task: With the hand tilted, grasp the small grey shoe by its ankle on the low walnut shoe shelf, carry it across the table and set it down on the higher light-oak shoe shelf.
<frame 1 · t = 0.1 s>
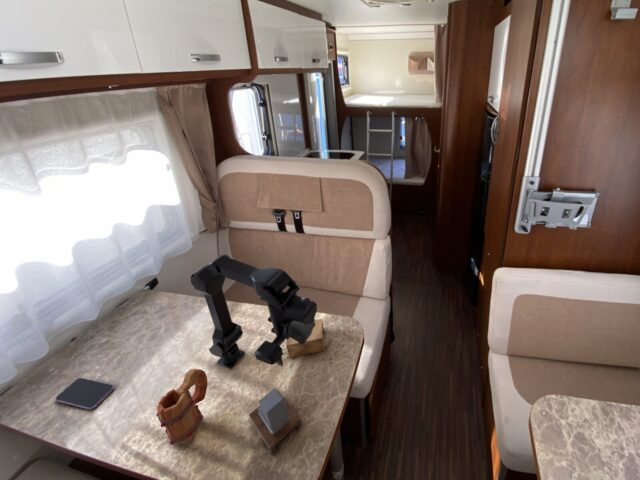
hand: (291, 351, 89), 15 cm above the table, tool pointing down, fingers open, 9 cm apart
low shelf: (276, 423, 85), on the table
mug: (195, 421, 86), on the table
high shelf: (307, 343, 109), on the table
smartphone: (86, 394, 95), on the table
shoe: (277, 421, 82), point 3 cm above the table, touching low shelf
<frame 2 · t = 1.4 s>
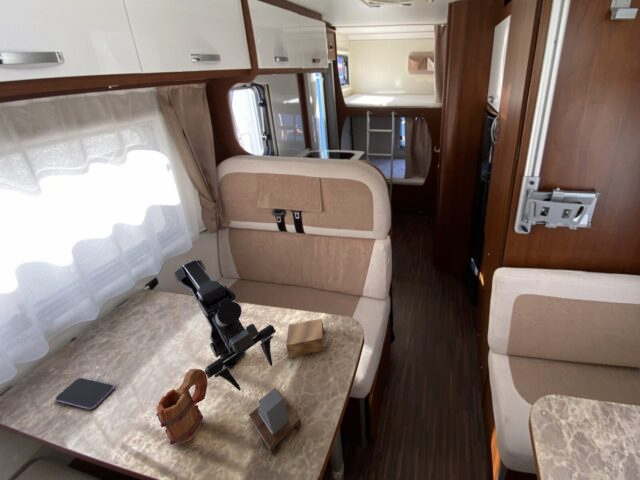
hand: (256, 377, 83), 13 cm above the table, tool tilted 45°, fingers open, 9 cm apart
nothing on the table moved.
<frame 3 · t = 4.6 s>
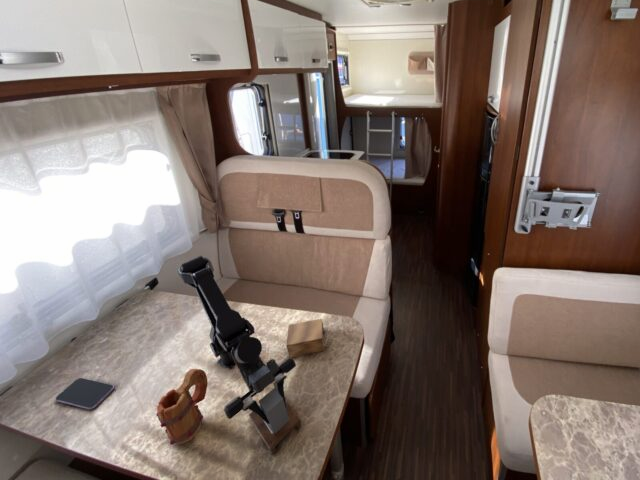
hand: (277, 415, 80), 7 cm above the table, tool tilted 45°, fingers closed on shoe, 4 cm apart
shoe: (277, 421, 82), point 3 cm above the table, touching gripper, low shelf
everything else where it was.
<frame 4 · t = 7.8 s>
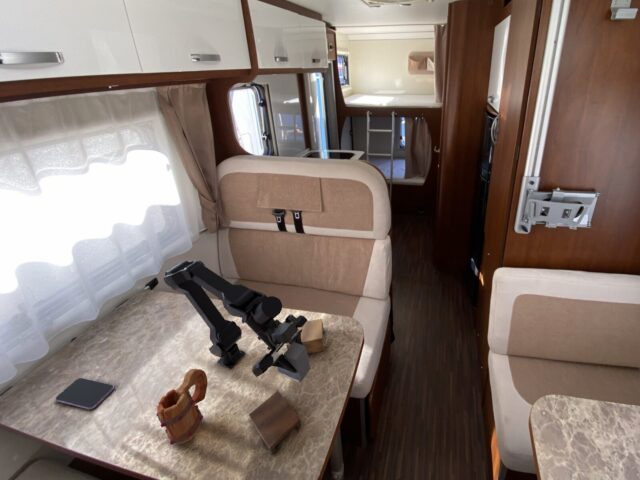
hand: (301, 364, 87), 13 cm above the table, tool tilted 45°, fingers closed on shoe, 4 cm apart
shoe: (299, 372, 89), point 8 cm above the table, touching gripper
everything else where it was.
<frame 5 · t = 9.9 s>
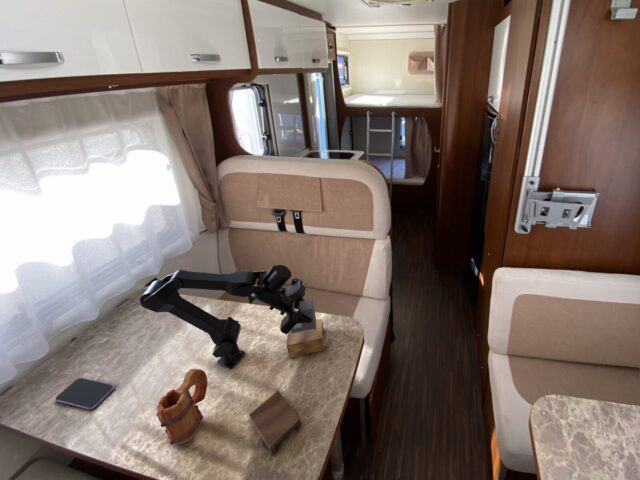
hand: (311, 315, 104), 12 cm above the table, tool tilted 45°, fingers closed on shoe, 4 cm apart
shoe: (309, 325, 106), point 8 cm above the table, touching gripper
everything else where it was.
when the fingers open (10 cm above the table, at t = 11.1 s): shoe stays where it is, resting on high shelf.
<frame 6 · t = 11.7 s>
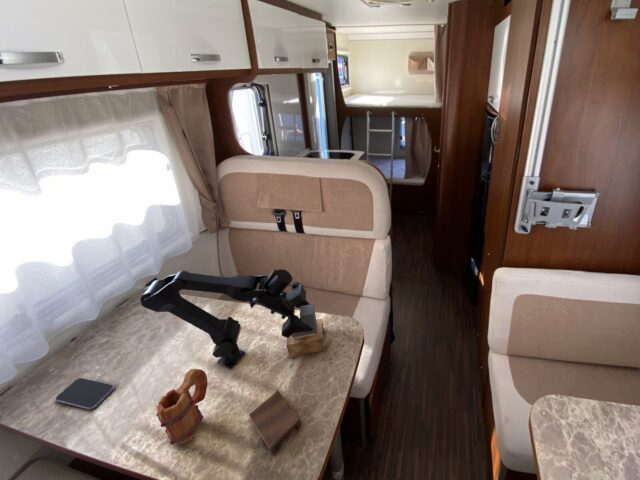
hand: (312, 319, 105), 11 cm above the table, tool tilted 45°, fingers open, 9 cm apart
shoe: (310, 330, 107), point 6 cm above the table, touching high shelf
everything else where it was.
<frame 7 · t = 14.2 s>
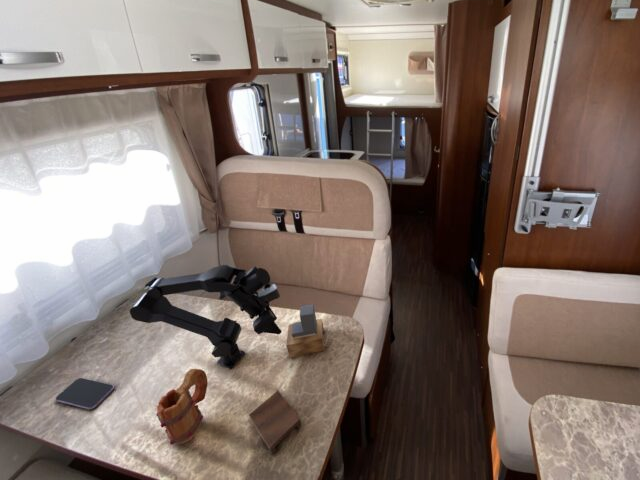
hand: (278, 325, 101), 12 cm above the table, tool tilted 30°, fingers open, 9 cm apart
nothing on the table moved.
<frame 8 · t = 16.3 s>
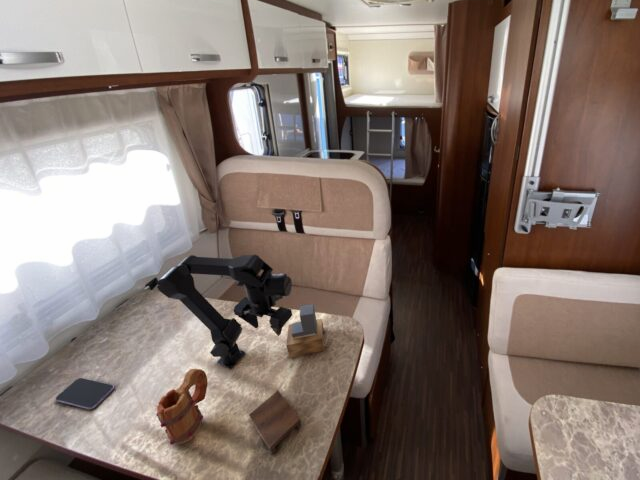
hand: (268, 331, 98), 13 cm above the table, tool pointing down, fingers open, 9 cm apart
nothing on the table moved.
at the end: shoe inside the target area on the high shelf (0.7 cm from its centre), point 6.0 cm above the high shelf's base; shoe tilted 0°; the gripper is holding nothing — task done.
